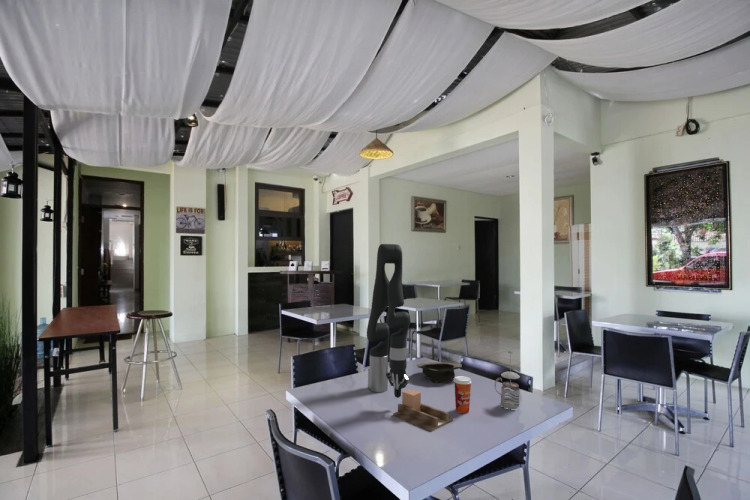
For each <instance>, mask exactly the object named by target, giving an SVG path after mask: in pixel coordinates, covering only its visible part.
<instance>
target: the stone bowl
mask: <svg viewBox="0 0 750 500" xmlns="http://www.w3.org/2000/svg"><path fill="white" fill-rule="evenodd" d="M416 366H417V368H419V369H421V371H422V374H423V375H425V377H428V378H430V379H431V382H432V383H434V384H435V383H437V384H439V383H444V382H445V383H446V382H447V383H448V382H449V381H450V380H454V379H455V377H456V374H455V373H456V372H455V370H459V369H460V368H462V367H463V366H462V365H459V364H456V363H452V362H445V361H444V362H438V361H437V362H430V361H429V362H422V363H417V364H416Z"/></svg>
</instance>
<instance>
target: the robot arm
mask: <svg viewBox="0 0 750 500" xmlns="http://www.w3.org/2000/svg"><path fill="white" fill-rule="evenodd" d="M386 264H392V265H394V271H393V273H392V276H391V278H390V280H389V278H388V276H387V274H386V269H385V268H386V267H385V266H386ZM375 270H376V271H375V279H374V286H373V291H372V299H371V309H370V314H369V318H368V322H367V328H366V338H367V340H368V342H369V343H370V342H371V343H376V342H378V344H377V345H375V346H373V347H371V348H370V349H369V368H368V370H367V373H368V374H367V389H369V391H371V392H374V393H384V392H386V391H388V387H389V386H388V385H389V384H390V386H391V387H393V393H394V394H393V395H394V397H395V398H398V399H399V398H401V397H402V389H405V388H406V387H407V385H408V384H409V383H410V381H411V378H410V377H408V376H407V372H406V370H407V363H408V362H407V358H408V357H407V356H408V355H407V354H408V353H407V352H408V351H407V336H408V331H409V328H410V324H411V316H410V314H409V312H407V311H396V309H397V308H401V307H403V306H404V305H405V300H404V299H405V298H404V291H403V250H402V247H401V245H400V244H395V243H392V244H391V243H381V244H380V245H378V247H377V253H376V268H375ZM386 310H387V314H386V321H385V322H379V319H380V317H381V315H382V314H383V313H384V312H385V311H386ZM390 329H399V330H398V331H397V332H394V333H391V334H390ZM389 344H390V347H389ZM389 369H390V370H389ZM388 383H389V384H388Z"/></svg>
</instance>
